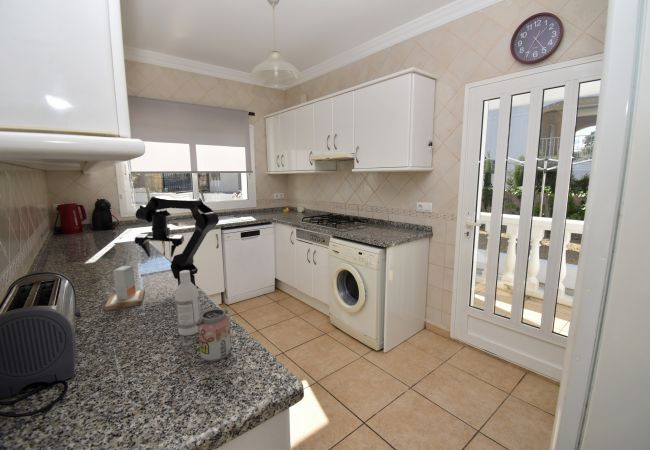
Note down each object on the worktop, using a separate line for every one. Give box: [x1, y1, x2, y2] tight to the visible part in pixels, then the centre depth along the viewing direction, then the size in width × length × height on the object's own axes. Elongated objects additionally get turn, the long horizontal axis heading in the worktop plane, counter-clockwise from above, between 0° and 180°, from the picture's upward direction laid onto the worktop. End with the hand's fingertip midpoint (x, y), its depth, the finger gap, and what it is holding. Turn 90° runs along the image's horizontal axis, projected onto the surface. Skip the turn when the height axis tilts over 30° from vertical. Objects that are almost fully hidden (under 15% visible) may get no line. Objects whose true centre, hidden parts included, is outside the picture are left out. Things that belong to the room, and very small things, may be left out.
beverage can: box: [195, 308, 232, 362], centre depth 84 cm, size 9×8×12 cm
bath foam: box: [174, 270, 202, 337], centre depth 96 cm, size 7×7×20 cm
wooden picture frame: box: [104, 288, 146, 311], centre depth 122 cm, size 12×14×2 cm
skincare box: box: [112, 265, 137, 299], centre depth 121 cm, size 6×4×12 cm
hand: (160, 256), depth 137 cm, fingers open, 9 cm apart
